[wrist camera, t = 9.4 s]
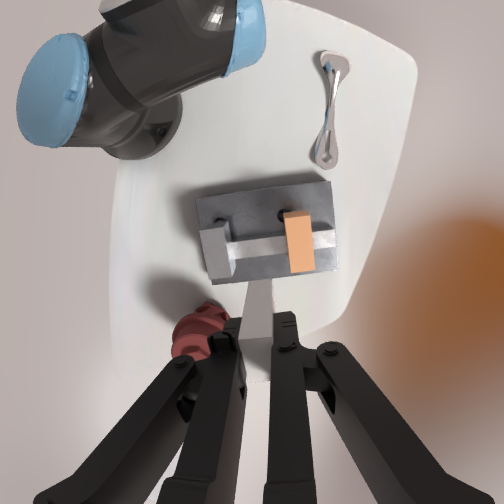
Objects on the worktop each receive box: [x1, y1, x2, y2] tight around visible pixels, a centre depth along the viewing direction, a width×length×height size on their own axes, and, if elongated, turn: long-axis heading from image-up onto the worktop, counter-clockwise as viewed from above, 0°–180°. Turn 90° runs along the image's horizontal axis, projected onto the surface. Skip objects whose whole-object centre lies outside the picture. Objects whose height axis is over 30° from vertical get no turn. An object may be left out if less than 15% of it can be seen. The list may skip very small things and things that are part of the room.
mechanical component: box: [171, 302, 230, 361], centre depth 41 cm, size 12×10×10 cm
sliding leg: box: [283, 210, 315, 273], centre depth 35 cm, size 7×3×6 cm, turn 9°
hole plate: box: [195, 180, 338, 285], centre depth 40 cm, size 13×19×3 cm
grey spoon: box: [315, 51, 351, 170], centre depth 34 cm, size 20×4×5 cm
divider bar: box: [199, 220, 336, 280], centre depth 36 cm, size 6×18×6 cm, turn 99°
